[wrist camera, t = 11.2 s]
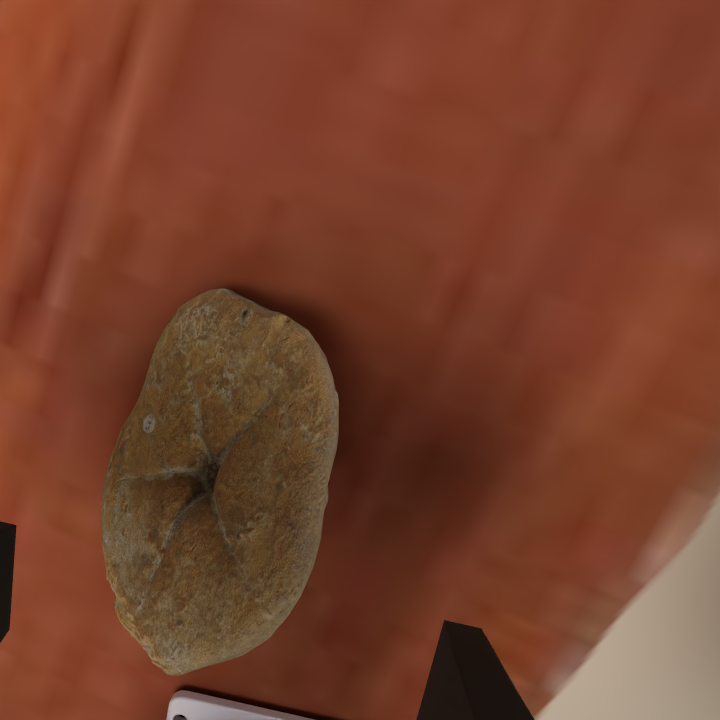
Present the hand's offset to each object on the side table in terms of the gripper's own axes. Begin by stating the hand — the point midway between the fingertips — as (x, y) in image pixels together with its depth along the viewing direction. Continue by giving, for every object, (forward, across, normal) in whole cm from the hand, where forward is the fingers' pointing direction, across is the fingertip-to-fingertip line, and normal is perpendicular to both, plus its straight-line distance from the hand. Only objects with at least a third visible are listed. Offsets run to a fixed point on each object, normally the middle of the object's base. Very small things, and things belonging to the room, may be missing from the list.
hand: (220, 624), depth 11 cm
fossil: (+11, +2, +1) cm, 11 cm away
